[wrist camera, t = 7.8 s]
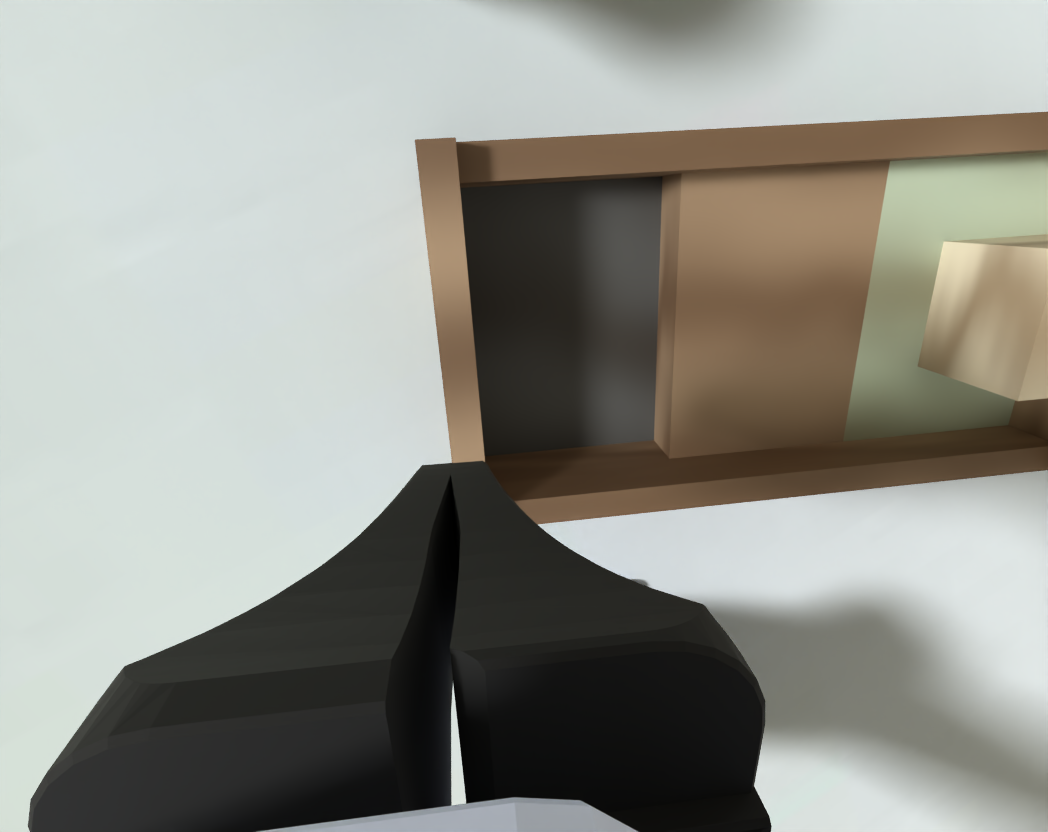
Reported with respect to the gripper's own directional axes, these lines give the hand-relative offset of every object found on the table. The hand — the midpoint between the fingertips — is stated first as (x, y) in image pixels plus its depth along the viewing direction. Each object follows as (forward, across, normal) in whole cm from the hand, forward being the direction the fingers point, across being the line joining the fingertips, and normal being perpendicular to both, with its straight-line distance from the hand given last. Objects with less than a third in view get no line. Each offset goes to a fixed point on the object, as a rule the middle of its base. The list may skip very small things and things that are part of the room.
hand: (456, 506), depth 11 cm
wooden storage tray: (+10, -11, -1) cm, 15 cm away
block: (+8, -19, -2) cm, 21 cm away
